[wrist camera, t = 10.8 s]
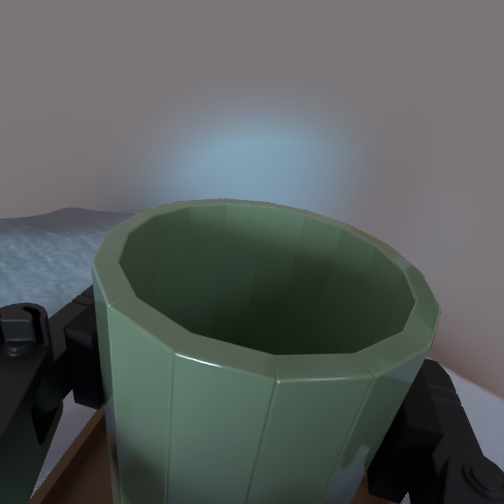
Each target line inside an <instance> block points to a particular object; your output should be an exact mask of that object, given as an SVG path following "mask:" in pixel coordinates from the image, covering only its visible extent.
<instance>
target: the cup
mask: <svg viewBox="0 0 504 504" xmlns="http://www.w3.org/2000/svg"><path fill="white" fill-rule="evenodd" d="M91 268H92V279H93V290H94V300H95V311H96V322H97V333H98V343H99V354H100V365H101V376H102V386H103V397H104V408H105V418H106V429H107V440H108V451H109V461H110V472H111V483H112V493H113V504H350V503H351V501H352V499H353V497H354V495H355V493H356V491H357V489H358V487H359V485H360V483H361V482H362V480H363V478H364V476H365V474H366V472H367V470H368V468H369V466H370V464H371V462H372V460H373V458H374V456H375V455H376V453H377V451H378V449H379V447H380V445H381V443H382V441H383V439H384V437H385V435H386V433H387V431H388V430H389V428H390V426H391V424H392V422H393V420H394V418H395V416H396V414H397V412H398V410H399V408H400V406H401V404H402V403H403V401H404V399H405V397H406V395H407V393H408V391H409V389H410V387H411V385H412V383H413V381H414V379H415V378H416V376H417V374H418V372H419V370H420V368H421V366H422V364H423V362H424V360H425V358H426V356H427V354H428V352H429V351H430V348H431V346H432V343H433V339H434V335H435V331H436V328H437V324H438V321H439V317H440V314H441V309H440V305H439V303H438V301H437V299H436V297H435V296H434V294H433V292H432V290H431V288H430V286H429V284H428V283H427V280H426V279H425V277H424V275H423V274H422V273H421V272H420V271H419V270H418V269H417V268H415V267H414V266H413V265H412V264H411V263H410V262H408V261H407V260H406V259H405V258H404V257H403V256H401V255H400V254H399V253H398V252H397V251H395V250H394V249H393V248H392V247H390V246H389V245H387V244H385V243H383V242H382V241H380V240H378V239H376V238H374V237H372V236H370V235H368V234H366V233H364V232H363V231H361V230H359V229H357V228H355V227H353V226H350V225H348V224H346V223H343V222H339V221H337V220H334V219H331V218H328V217H325V216H322V215H319V214H317V213H314V212H311V211H307V210H302V209H298V208H293V207H288V206H283V205H278V204H274V203H269V202H260V201H247V200H236V199H206V200H191V201H178V202H174V203H170V204H166V205H162V206H158V207H154V208H150V209H146V210H142V211H140V212H138V213H136V214H135V215H133V216H131V217H129V218H128V219H126V220H124V221H123V222H121V223H119V224H118V225H116V226H114V227H113V228H111V229H109V231H107V233H106V235H105V237H104V239H103V241H102V243H101V245H100V247H99V249H98V251H97V253H96V255H95V257H94V259H93V261H92V265H91Z"/></svg>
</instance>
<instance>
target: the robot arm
mask: <svg viewBox="0 0 504 504" xmlns="http://www.w3.org/2000/svg"><path fill="white" fill-rule="evenodd" d="M72 389H73V395H74V401H75V403H78V404H81V405H84V406H87V407H91V408H94V409H97V410H99V409H100V408H101V407H102V405H103V404H104V397H103V386H102V376H101V365H100V354H99V343H98V333H97V322H96V311H95V300H94V290H93V285H91V286H90V287H89V288H87V289H86V290H85V291H84V292H82V293H81V295H78V296H77V297H76V298H75V299H73V300H72V302H71V303H68V304H67V305H66V306H64V307H63V308H62V309H61V310H59V311H58V312H57V313H56V314H54V315H53V316H52V317H50V318H49V319H48V316H47V312H46V310H45V308H44V307H42V306H40V305H38V304H33V303H18V304H12V305H8V306H5V307H2V308H0V504H28V502H29V500H30V497H31V494H32V492H33V489H34V486H35V484H36V481H37V479H38V476H39V473H40V471H41V468H42V465H43V463H44V460H45V457H46V455H47V452H48V450H49V447H50V444H51V442H52V439H53V436H54V434H55V431H56V428H57V426H58V423H59V421H60V418H61V415H62V412H63V399H64V398H65V397H66V396H67V394H68V393H69V392H70V391H71V390H72ZM367 481H368V491H369V495H373V496H376V497H379V498H382V499H385V500H389V501H392V502H395V503H398V504H400V503H401V501H402V500H403V498H404V497H405V495H406V494H407V492H409V497H410V502H411V504H504V472H503V471H502V470H501V469H500V468H499V467H498V466H497V465H496V464H494V463H493V462H492V461H490V460H489V459H487V458H486V457H485V456H484V455H483V453H482V451H481V448H480V446H479V444H478V441H477V439H476V437H475V434H474V432H473V430H472V427H471V425H470V423H469V420H468V418H467V416H466V413H465V411H464V409H463V407H462V406H461V402H460V399H459V397H458V394H456V390H455V387H454V385H453V383H452V380H451V378H450V376H449V375H448V374H447V372H446V371H445V370H444V369H443V368H442V367H441V365H440V364H439V363H438V362H437V361H433V360H429V359H425V360H424V362H423V364H422V366H421V368H420V370H419V372H418V374H417V376H416V378H415V379H414V381H413V383H412V385H411V387H410V389H409V391H408V393H407V395H406V397H405V399H404V401H403V403H402V404H401V406H400V408H399V410H398V412H397V414H396V416H395V418H394V420H393V422H392V424H391V426H390V428H389V430H388V431H387V433H386V435H385V437H384V439H383V441H382V443H381V445H380V447H379V449H378V451H377V453H376V455H375V456H374V458H373V460H372V462H371V464H370V466H369V468H368V470H367Z"/></svg>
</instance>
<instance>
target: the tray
mask: <svg viewBox="0 0 504 504" xmlns="http://www.w3.org/2000/svg"><path fill="white" fill-rule="evenodd" d="M28 504H113V493H112V483H111V472H110V461H109V451H108V440H107V429H106V418H105V408H104V404H103V405H102V407H101V408H100V409H99V410H97V411H96V412H95V414H94V415H93V416H92V418H91V419H90V420H89V422H88V423H87V424H86V426H85V427H84V428H83V430H82V431H81V432H80V434H79V435H78V436H77V438H76V439H75V441H74V442H73V443H72V445H71V446H70V447H69V449H68V450H67V451H66V453H65V454H64V455H63V457H62V458H61V459H60V461H59V462H58V463H57V465H56V466H55V467H54V469H53V470H52V471H51V473H50V474H49V475H48V477H47V478H46V479H45V481H44V482H43V483H42V485H41V486H40V487H39V489H38V490H37V491H36V493H35V494H34V495H33V497H32V498H31V499H30V501H29V502H28ZM350 504H398V503H395V502H392V501H389V500H385V499H382V498H379V497H376V496H373V495H369V491H368V481H367V472H366V474H365V476H364V478H363V480H362V482H361V483H360V485H359V487H358V489H357V491H356V493H355V495H354V497H353V499H352V501H351V503H350Z"/></svg>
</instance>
